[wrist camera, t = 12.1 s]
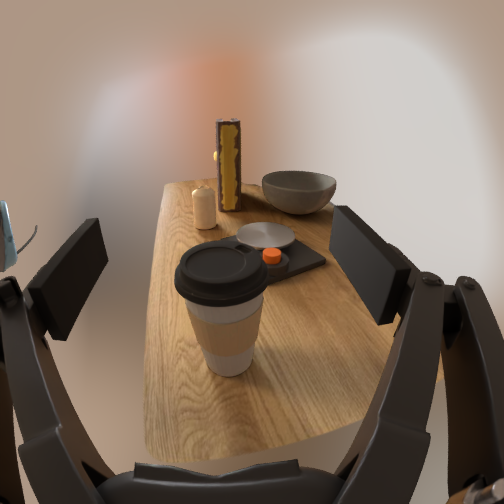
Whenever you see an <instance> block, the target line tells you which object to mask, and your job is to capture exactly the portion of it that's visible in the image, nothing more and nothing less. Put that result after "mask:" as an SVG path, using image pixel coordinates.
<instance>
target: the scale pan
mask: <svg viewBox="0 0 504 504" xmlns="http://www.w3.org/2000/svg"><path fill="white" fill-rule="evenodd" d="M236 238H237V240H238V242H242V243H245V244H248V245H250V246H252V247H253V248H255V249H257V250H264V249H266V248H277V249H282V248H285V247H288V246H289V245H291V244H292V243H293V242H294V240H295V233H294V232H293V230H292V229H290V228H289V227H287V226H284V225H282V224H278V223H272V222H257V223H251V224H247V225H245V226H243V227H241V228H240V229H239V230H238V231H237V233H236Z"/></svg>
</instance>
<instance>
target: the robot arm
mask: <svg viewBox="0 0 504 504" xmlns="http://www.w3.org/2000/svg"><path fill="white" fill-rule="evenodd" d="M36 232H37V225H36V227H35V232H34V234H33V235H32V237H31V238H30V239H29V240H28V242H27V243H26V244H25V245H24V246H23V247H22V248H21V249H19V250H18V251H17V252H16V248H15V243H14V239H13V234H12V229H11V224H10V219H9V214H8V209H7V204H6V202H5V201H3V200H2V201H0V272H4V271H5V270H6V269H8V268H9V267H11V266H13V265H14V264H15V263H16V261H17V254H18V253H19V252H21V251H22V250H23V249H24V248H25V247H26V246H27V244H29V242H30V241H31V240H32V239H33V237H34V236H35V234H36ZM329 250H330V252H331V253H332V255H333V256H334V258H335V259H336V261H337V262H338V264H339V265H340V267H341V268H342V270H343V271H344V273H345V274H346V276H347V277H348V279H349V280H350V282H351V283H352V285H353V286H354V288H355V290H356V291H357V293H358V294H359V296H360V297H361V299H362V301H363V302H364V304H365V305H366V307H367V309H368V310H369V312H370V313H371V315H372V317H373V318H374V320H375V322H376V323H377V325H378V326H379V325H384V324H389V323H393V320H394V318H395V315H396V313H397V312H398V314H399V315H400V317H401V319H400V322H399V324H398V327H397V329H396V331H395V334H394V336H393V337H395V338H394V341H393V344H392V347H391V350H390V353H389V356H388V359H387V362H386V365H385V368H384V371H383V374H382V376H381V379H380V382H379V384H378V387H377V389H376V392H375V394H374V397H373V399H372V402H371V404H370V406H369V409H368V411H367V413H366V416H365V418H364V420H363V422H362V425H361V427H360V429H359V431H358V433H357V435H356V437H355V439H354V441H353V443H352V445H351V447H350V449H349V451H348V453H347V454H346V456H345V458H344V459H343V461H342V462H341V464H340V465H339V467H338V468H337V470H336V472H335V473H334V474H331V473H329V472H326V471H323V470H319V469H315V468H309V467H299V464H298V460H297V459H294V460H288V461H281V462H273V463H264V464H256V465H253V466H250V467H247V468H243V469H240V470H237V471H233V472H229V473H226V474H222V475H218V476H211V475H206V474H202V473H198V472H193V471H189V470H186V469H182V468H178V467H175V466H167V465H166V466H165V465H153V464H143V463H136V462H135V469H134V471H129V472H125V473H121V474H118V475H115V474H114V473H113V472H112V470H111V469H110V468H109V467H108V466H107V465H106V464H105V462H104V461H103V459H102V458H101V456H100V455H99V453H98V451H97V450H96V448H95V446H94V445H93V443H92V441H91V440H90V438H89V436H88V434H87V432H86V430H85V429H84V427H83V425H82V423H81V421H80V419H79V417H78V415H77V413H76V411H75V409H74V407H73V405H72V403H71V400H70V398H69V396H68V394H67V392H66V389H65V387H64V385H63V382H62V380H61V377H60V375H59V372H58V370H57V367H56V365H55V362H54V359H53V356H52V354H51V351H50V348H49V345H48V342H47V340H46V338H45V337H44V335H45V333H46V331H47V330H48V332H49V334H50V335H51V337H52V339H53V340H60V341H66V340H67V338H68V336H69V333H70V331H71V329H72V327H73V325H74V323H75V321H76V319H77V317H78V315H79V313H80V311H81V309H82V307H83V306H84V304H85V302H86V300H87V298H88V296H89V294H90V292H91V290H92V289H93V287H94V285H95V283H96V282H97V280H98V278H99V276H100V274H101V273H102V271H103V269H104V267H105V266H106V264H107V262H108V257H107V253H106V249H105V245H104V241H103V237H102V233H101V228H100V224H99V220H98V218H92V219H86V221H85V222H84V223H83V224H82V225H81V226H80V227H79V228H78V229H77V230H76V231H75V232H74V233H73V234H72V235H71V236H70V237H69V239H68V240H67V241H66V242H65V243H64V244H63V245H62V246H61V247H60V249H59V250H58V251H57V252H56V253H55V254H54V255H53V257H52V258H51V259H50V260H49V261H48V263H47V264H46V265H44V266H43V267H41V269H40V270H39V271H38V272H37V275H35V276H34V277H33V280H31V281H30V282H29V284H28V285H27V286H26V288H25V289H24V290H23V292H22V291H21V289H20V287H19V285H18V282H17V280H16V278H15V277H13V276H8V277H6V278H3V279H2V280H0V504H25V500H24V495H23V489H22V484H21V479H20V474H19V468H18V461H17V454H16V446H15V437H14V423H13V406H14V410H15V413H16V417H17V420H18V424H19V427H20V431H21V434H22V437H23V440H24V444H22V445H20V446H19V447H18V453H19V457H20V459H21V462H22V465H23V467H24V470H25V473H26V475H27V477H28V480H29V482H30V485H31V487H32V489H33V491H34V493H35V496H36V498H37V500H38V502H39V504H409V502H410V500H411V497H412V495H413V492H414V490H415V487H416V485H417V482H418V479H419V476H420V473H421V471H422V468H423V465H424V462H425V458H426V455H427V452H428V448H429V444H430V439H431V436H430V433H427V432H426V425H427V421H428V417H429V412H430V408H431V404H432V399H433V394H434V389H435V383H436V378H437V372H438V365H439V358H440V350H441V356H442V363H443V370H444V378H445V386H446V398H447V413H448V494H449V499H448V501H447V503H446V504H504V340H503V337H502V334H501V331H500V329H499V327H498V324H497V321H496V319H495V316H494V314H493V312H492V309H491V307H490V305H489V303H488V300H487V298H486V296H485V294H484V292H483V290H482V288H481V286H480V285H479V283H477V282H476V281H475V279H472V278H471V277H467V276H460V277H458V279H457V281H456V284H455V286H453V285H444V282H443V280H442V279H441V278H440V277H439V276H437V275H435V274H433V273H430V272H421V271H420V270H419V269H418V268H417V267H416V266H415V265H414V264H413V263H412V262H411V261H410V260H408V258H407V257H406V256H405V255H403V253H402V252H401V251H400V250H399V249H398V248H396V247H395V246H393V245H391V244H390V243H386V242H385V241H384V240H383V239H382V238H381V237H380V236H379V235H378V234H377V233H376V232H375V231H374V230H373V229H372V228H371V227H370V226H369V225H367V224H366V223H365V222H364V221H363V220H362V219H361V218H360V217H359V216H358V215H356V213H354V212H353V211H352V210H351V209H350V208H349V207H348V206H334V213H333V222H332V230H331V237H330V244H329Z"/></svg>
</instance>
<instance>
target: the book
mask: <svg viewBox="0 0 504 504" xmlns="http://www.w3.org/2000/svg"><path fill="white" fill-rule="evenodd" d="M216 147H217V151H216V152H215V153H214V159H215V161H217V181H218V206H219V211H221V212H235V211H239V210H240V209H241V128H240V121H239V120H238V119H231V121H223V120H222V119H217V120H216Z"/></svg>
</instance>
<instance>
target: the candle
mask: <svg viewBox="0 0 504 504" xmlns="http://www.w3.org/2000/svg"><path fill="white" fill-rule="evenodd" d="M192 199H193V211H194V223H195V227H196V228H198V229H211V228H213V227H215V226H216V204H215V191H214V190H212V189H211V188H210V187H208V186H206V185H203V186H201V187H199V188H198V189H196V190H195V191H194V192H193V193H192Z"/></svg>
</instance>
